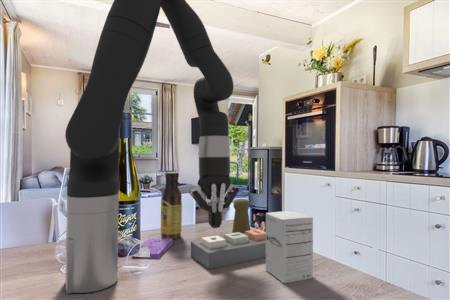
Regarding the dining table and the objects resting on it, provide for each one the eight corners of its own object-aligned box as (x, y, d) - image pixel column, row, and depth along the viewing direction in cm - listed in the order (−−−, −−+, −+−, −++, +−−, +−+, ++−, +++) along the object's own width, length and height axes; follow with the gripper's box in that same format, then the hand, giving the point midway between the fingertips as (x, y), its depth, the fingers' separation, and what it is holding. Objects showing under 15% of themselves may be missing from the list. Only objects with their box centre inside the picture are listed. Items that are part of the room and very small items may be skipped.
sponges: (172, 244, 83) (172, 238, 83) (159, 260, 70) (159, 253, 70) (148, 244, 83) (148, 237, 83) (131, 259, 71) (131, 252, 71)
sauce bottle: (159, 235, 91) (160, 171, 91) (179, 233, 93) (180, 171, 93) (161, 241, 85) (162, 172, 85) (183, 239, 86) (183, 172, 87)
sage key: (233, 248, 70) (233, 238, 70) (224, 243, 74) (224, 233, 74) (248, 245, 72) (248, 235, 72) (238, 241, 76) (238, 231, 76)
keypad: (208, 269, 64) (208, 253, 64) (190, 255, 72) (190, 241, 72) (280, 253, 74) (280, 240, 74) (257, 243, 82) (257, 231, 82)
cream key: (209, 252, 67) (209, 242, 67) (201, 247, 71) (201, 237, 71) (225, 249, 69) (225, 239, 69) (217, 244, 73) (217, 234, 73)
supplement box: (264, 270, 63) (264, 212, 63) (293, 265, 66) (293, 210, 66) (282, 284, 56) (282, 219, 57) (314, 278, 59) (314, 216, 59)
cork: (251, 231, 96) (251, 198, 96) (250, 236, 90) (250, 200, 90) (232, 231, 96) (232, 197, 96) (231, 236, 90) (231, 200, 90)
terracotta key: (254, 244, 73) (254, 234, 73) (245, 240, 77) (245, 230, 77) (268, 242, 75) (268, 232, 75) (258, 237, 79) (258, 228, 79)
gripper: (195, 155, 64) (196, 235, 63) (245, 154, 70) (246, 226, 70) (182, 155, 70) (183, 227, 70) (230, 155, 77) (231, 220, 76)
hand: (215, 227), depth 70 cm, fingers closed
